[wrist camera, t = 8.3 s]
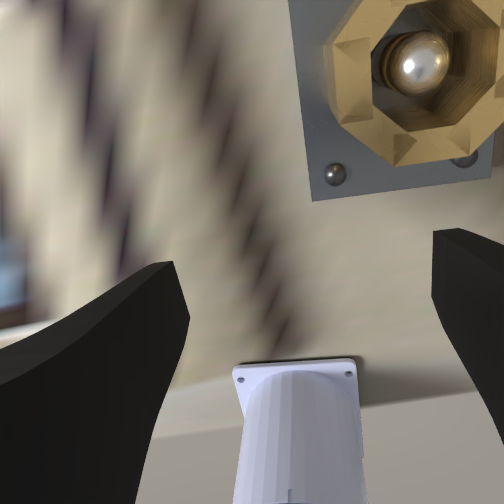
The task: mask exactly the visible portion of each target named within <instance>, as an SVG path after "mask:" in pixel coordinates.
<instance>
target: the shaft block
mask: <svg viewBox="0 0 504 504" xmlns="http://www.w3.org/2000/svg"><path fill="white" fill-rule="evenodd" d="M353 1H354V0H288V3H289V12H290V20H291V28H292V37H293V45H294V54H295V62H296V70H297V79H298V87H299V96H300V104H301V112H302V121H303V129H304V138H305V146H306V154H307V163H308V171H309V180H310V188H311V196H312V202H313V201H320V200H328V199H335V198H343V197H350V196H358V195H365V194H372V193H380V192H387V191H395V190H402V189H410V188H417V187H425V186H432V185H440V184H447V183H455V182H462V181H470V180H477V179H484V178H490V177H491V166H492V156H493V145H494V134H495V131H494V132H493V133H492V134H491V135H490V136H489V137H488V138H487V139H486V140H485V141H484V142H483V143H482V144H481V145H480V146H479V147H478V148H477V149H476V150H475V151H474V152H473V153H472V154H471V155H470V156H466V157H459V158H453V159H446V160H439V161H432V162H425V163H418V164H411V165H405V166H398V167H393V166H392V165H390V164H389V163H388V162H387V161H385V160H384V159H383V158H381V157H380V156H379V155H378V154H376V153H375V152H374V151H372V150H371V149H370V148H369V147H367V146H366V145H365V144H363V143H362V142H361V141H359V140H358V139H357V138H356V137H354V136H353V135H352V134H350V133H349V132H348V131H347V130H345V129H344V128H343V127H341V126H340V125H339V123H338V122H337V120H336V118H335V116H334V114H333V112H332V110H331V108H330V107H329V104H328V93H327V82H326V71H325V60H324V49H323V45H324V43H325V42H326V40H327V39H328V38H329V36H330V35H331V33H332V32H333V30H334V29H335V27H336V26H337V24H338V23H339V22H340V20H341V19H342V17H343V16H344V14H345V13H346V11H347V10H348V8H349V7H350V6H351V4H352V3H353ZM370 57H371V80H372V103H373V105H374V106H375V107H376V108H377V109H379V110H385V109H390V108H396V107H402V106H408V105H414V104H415V103H416V102H417V101H418V99H419V98H420V97H421V96H422V95H424V94H427V93H429V92H431V91H432V90H434V89H435V88H436V87H437V86H438V85H439V84H440V83H441V82H442V81H443V79H444V78H445V76H446V74H447V72H448V69H449V66H450V50H449V47H448V44H447V43H446V41H445V40H444V39H443V38H442V33H441V32H440V31H438V30H437V29H436V28H435V27H434V26H433V25H432V24H431V23H429V22H428V21H427V20H426V19H425V18H424V17H423V16H422V15H420V14H419V13H418V12H417V11H416V10H415V9H412V10H408V11H403V12H401V13H400V14H399V16H398V17H397V18H396V20H395V21H394V22H393V24H392V25H391V26H390V27H389V29H388V30H387V31H386V33H385V34H384V35H383V37H382V38H381V39H380V41H379V42H378V43H377V45H376V46H375V47H374V49H373V50H372V51H371V53H370Z"/></svg>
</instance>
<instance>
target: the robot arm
mask: <svg viewBox="0 0 504 504" xmlns="http://www.w3.org/2000/svg"><path fill="white" fill-rule="evenodd" d="M431 297H432V300H433V302H434V305H435V308H436V311H437V314H438V316H439V319H440V321H441V324H442V326H443V328H444V330H445V332H446V334H447V336H448V338H449V339H450V341H451V343H452V345H453V347H454V349H455V350H456V352H457V354H458V356H459V357H460V359H461V361H462V363H463V365H464V366H465V368H466V370H467V372H468V373H469V375H470V377H471V379H472V381H473V382H474V384H475V386H476V388H477V389H478V391H479V393H480V395H481V397H482V398H483V400H484V402H485V404H486V406H487V408H488V410H489V412H490V414H491V416H492V418H493V421H494V423H495V425H496V428H497V430H498V433H499V435H500V437H501V439H502V442H503V444H504V245H502V244H500V243H497V242H495V241H493V240H490V239H488V238H485V237H483V236H480V235H478V234H475V233H473V232H470V231H467V230H464V229H460V228H455V229H446V230H438V231H433V256H432V292H431ZM189 321H190V315H189V312H188V308H187V305H186V302H185V299H184V296H183V292H182V289H181V286H180V283H179V279H178V276H177V273H176V270H175V266H174V263H173V261H167V262H158V263H152V264H150V265H148V266H146V267H144V268H143V269H141V270H139V271H138V272H136V273H134V274H133V275H131V276H130V277H128V278H127V279H125V280H124V281H122V282H120V283H119V284H117V285H116V286H114V287H113V288H111V289H110V290H108V291H107V292H105V293H104V294H102V295H101V296H99V297H98V298H96V299H94V300H93V301H91V302H89V303H88V304H86V305H85V306H83V307H81V308H80V309H78V310H76V311H75V312H73V313H72V314H70V315H68V316H67V317H65V318H63V319H61V320H59V321H58V322H56V323H54V324H52V325H50V326H48V327H46V328H44V329H42V330H41V331H39V332H37V333H35V334H33V335H31V336H29V337H27V338H25V339H22V340H20V341H18V342H16V343H13V344H11V345H9V346H6V347H4V348H2V349H0V504H135V501H136V496H137V492H138V487H139V484H140V479H141V475H142V471H143V467H144V462H145V459H146V454H147V451H148V447H149V444H150V440H151V436H152V432H153V429H154V426H155V423H156V420H157V417H158V414H159V411H160V408H161V406H162V403H163V401H164V398H165V395H166V393H167V390H168V388H169V385H170V382H171V380H172V377H173V375H174V372H175V370H176V367H177V364H178V361H179V359H180V356H181V353H182V351H183V348H184V344H185V340H186V336H187V331H188V326H189ZM347 371H351V372H349V373H347ZM232 375H233V378H234V382H235V386H236V389H237V393H238V397H239V400H240V404H241V408H242V412H243V415H244V419H245V422H244V429H243V437H242V443H241V450H240V456H239V464H238V471H237V477H236V485H235V492H234V498H233V504H368V498H367V491H366V485H365V478H364V472H363V465H362V458H363V456H364V453H363V442H362V429H361V417H360V404H359V392H358V380H357V368H356V363H355V361H354V360H353V359H350V358H343V359H327V360H311V361H295V362H279V363H263V364H247V365H237V366H235V367H234V368H233V372H232ZM239 377H243V379H242V378H239Z"/></svg>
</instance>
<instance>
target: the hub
mask: <svg viewBox="0 0 504 504" xmlns="http://www.w3.org/2000/svg"><path fill="white" fill-rule="evenodd" d="M412 9H415V10H416V11H417V12H418V13H419V14H420V15H422V16H423V17H424V18H425V19H426V20H427V21H428V22H429V23H431V24H432V25H433V26H434V27H435V28H436V29H437V30H438V31H440V32H441V33H442V38H443V39H444V40H445V41H446V43H447V44H448V47H449V50H450V66H449V69H448V72H447V74H446V76H445V78H444V79H443V81H442V82H441V83H440V84H439V85H438V86H437V87H436V88H435V89H434V90H432V91H431V92H429V93H427V94H424V95H422V96H421V97H420V98H419V99H418V101H417V102H416V103H415V104H414V105H408V106H402V107H396V108H390V109H385V110H379V109H377V108H376V107H375V106H374V105H373V103H372V80H371V57H370V53H371V51H372V50H373V49H374V47H375V46H376V45H377V43H378V42H379V41H380V39H381V38H382V37H383V35H384V34H385V33H386V31H387V30H388V29H389V27H390V26H391V25H392V24H393V22H394V21H395V20H396V18H397V17H398V16H399V14H400V13H401V12H403V11H408V10H412ZM323 49H324V60H325V71H326V82H327V93H328V104H329V107H330V108H331V110H332V112H333V114H334V116H335V118H336V120H337V122H338V123H339V125H340V126H341V127H343V128H344V129H345V130H347V131H348V132H349V133H350V134H352V135H353V136H354V137H356V138H357V139H358V140H359V141H361V142H362V143H363V144H365V145H366V146H367V147H369V148H370V149H371V150H372V151H374V152H375V153H376V154H378V155H379V156H380V157H381V158H383V159H384V160H385V161H387V162H388V163H389V164H390V165H392V166H393V167H398V166H405V165H411V164H418V163H425V162H432V161H439V160H446V159H453V158H459V157H466V156H470V155H471V154H472V153H473V152H474V151H475V150H476V149H477V148H478V147H479V146H480V145H481V144H482V143H483V142H484V141H485V140H486V139H487V138H488V137H489V136H490V135H491V134H492V133H493V132H494V131H495V130H496V129H497V128H498V127H499V126H500V125H501V124H502V123H503V122H504V0H354V1H353V3H352V4H351V6H350V7H349V8H348V10H347V11H346V13H345V14H344V16H343V17H342V19H341V20H340V22H339V23H338V24H337V26H336V27H335V29H334V30H333V32H332V33H331V35H330V36H329V38H328V39H327V40H326V42H325V43H324V45H323Z"/></svg>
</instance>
